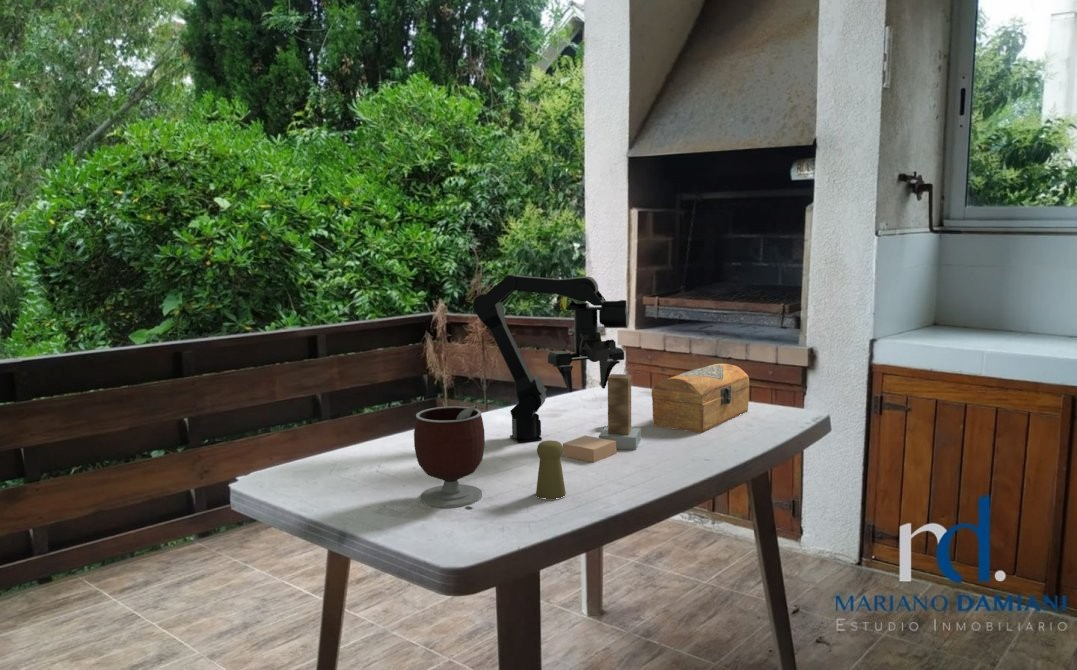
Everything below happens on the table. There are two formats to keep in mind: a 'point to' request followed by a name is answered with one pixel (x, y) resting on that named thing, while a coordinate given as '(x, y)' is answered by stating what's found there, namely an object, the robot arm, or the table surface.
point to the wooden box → (701, 398)
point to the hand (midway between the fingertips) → (586, 390)
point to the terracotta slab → (589, 448)
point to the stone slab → (623, 438)
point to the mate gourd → (449, 452)
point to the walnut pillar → (619, 404)
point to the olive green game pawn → (550, 470)
